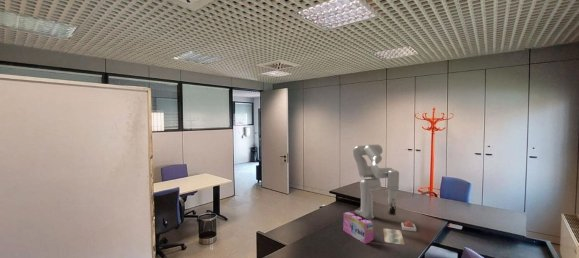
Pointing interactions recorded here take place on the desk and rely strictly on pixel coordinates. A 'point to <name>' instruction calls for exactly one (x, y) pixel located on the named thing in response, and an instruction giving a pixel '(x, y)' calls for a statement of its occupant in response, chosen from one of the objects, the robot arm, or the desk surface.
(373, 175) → the robot arm
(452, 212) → the desk surface
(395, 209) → the pawn
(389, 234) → the track board
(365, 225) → the pink printed package
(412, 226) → the popper base
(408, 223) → the red dome
